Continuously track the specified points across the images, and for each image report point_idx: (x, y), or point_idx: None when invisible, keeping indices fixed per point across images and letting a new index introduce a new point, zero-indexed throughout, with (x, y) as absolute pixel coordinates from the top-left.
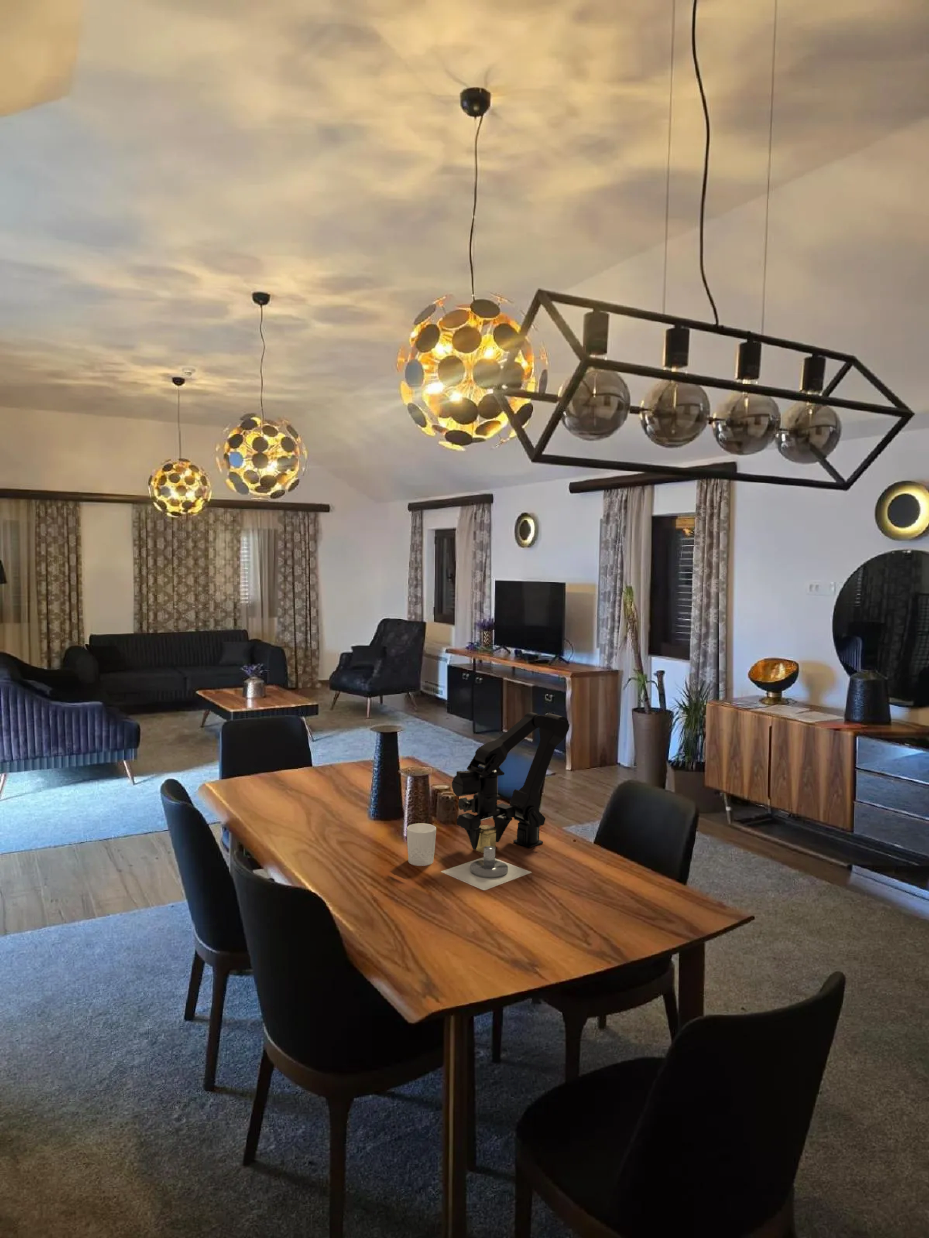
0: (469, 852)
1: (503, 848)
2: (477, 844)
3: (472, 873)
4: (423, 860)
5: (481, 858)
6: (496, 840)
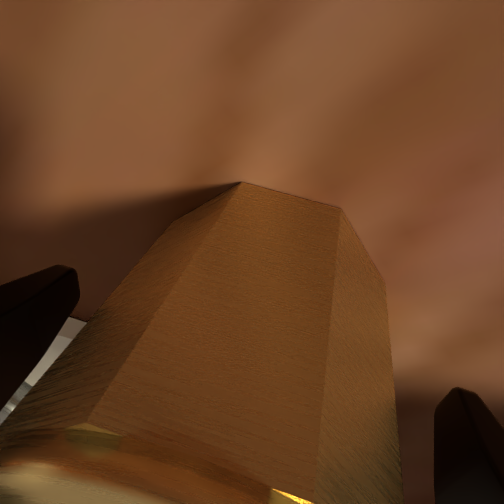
0: (137, 158)
1: (463, 383)
2: (34, 362)
3: None
4: None
5: (66, 342)
6: (446, 415)
